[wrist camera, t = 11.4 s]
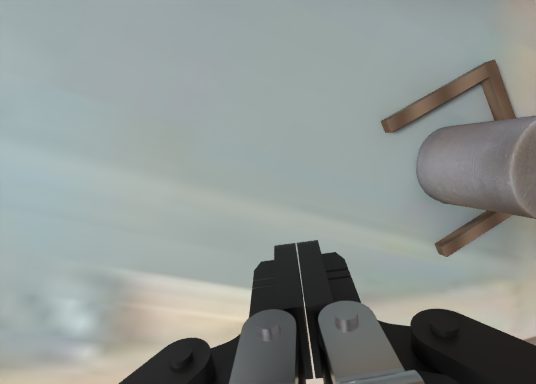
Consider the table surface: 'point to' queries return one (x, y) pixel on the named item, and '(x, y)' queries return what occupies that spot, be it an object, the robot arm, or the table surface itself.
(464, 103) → the table surface
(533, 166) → the pillar candle
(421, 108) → the wooden u-shaped frame
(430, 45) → the table surface
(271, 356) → the robot arm
